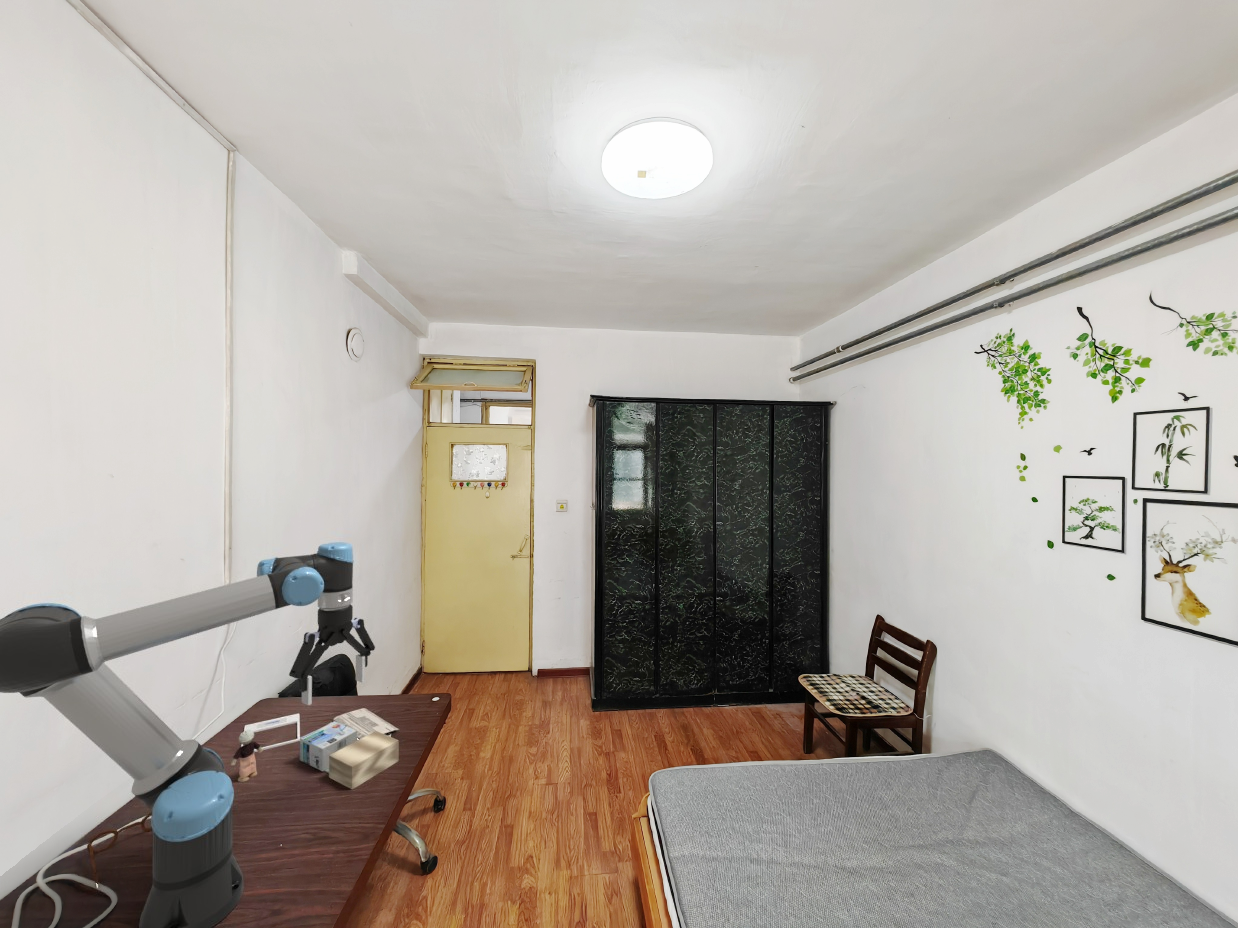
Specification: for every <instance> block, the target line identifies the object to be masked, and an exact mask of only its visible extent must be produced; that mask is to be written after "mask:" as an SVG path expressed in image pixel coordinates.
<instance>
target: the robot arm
mask: <svg viewBox="0 0 1238 928" xmlns="http://www.w3.org/2000/svg"><path fill="white" fill-rule="evenodd" d="M353 569H354V551H353V546H352V545H351V544H350V543H348V542H328V543H322V544H320V545H319V546H318V548H317V551H316V553H313V554H306V555H305V554H303V555H295V556H284V557H278V556H277V557H274V558H268V559H263V560H260V561H259V562H258V564H257V566H256V576H255V577H251V578H248V579H244V580H240V581H235V582H233V583H229V584H226V585H225V584H224V585H220V586H216V587H213V588H210V589H204V590H201V591H199V592H195V593H190V594H186V595H182V596H178V597H175V598H171V599H167V600H164V601H159V602H156V603H153V604H149V605H144V606H140V607H136V608H133V609H129V610H126V611H122V612H118V613H113V614H110V615H106V616H103V617H99V618H92V617H89V616H86V615H83V616H82V615H81V614H80V613H79V612H78V611H77V610H75V609H74V608H72V607H70V606H68V605H65V604H61V603H54V602H49V603H48V602H47V603H45V602H44V603H43V602H41V603H36V604H30V605H27V606H24V607H21V608H19V609H16V610H14V611H12V612H10V613H9V614H7V615H6V616H4V617H2V618H0V693H1V694H2V693H3V694H14V693H19V694H20V695H21V696H22V697H24V698H38V697H39V698H40V697H41V698H44V700H46V701H47V702H48V703H49V704H51V705H52V706H53V707H54V708H55V709H56V710H57V711H59V713H60V714H61V715H62V716H64V717H65V718H66V719H67V720H68V721H69V722H70V723H71V724H73V726H75V727H76V728H77V729H78V730H79V731H80V732H81V733H82V734H84V735H85V737H86V738H88V739H89V740H90V741H91V742H92V743H94V744H95V745H96V746H97V747H98V748H99V749H100V750H101V751H102V752H104V754H106V756H108V757H109V758H110V759H111V760H112V761H113V762H114V763H115V764H116V765H118V766H119V767H120V768H121V769H122V770H123V771H124V772H126V773H127V774H128V776H130V777H131V778H132V779H133V784H132V785H131V786H132V787H131V793H132V794H133V796H135V797H136V798H137V799H138V800H139V801H141V803H142V804H144V805H145V806H146V808H148V809H149V810H150V811H151V812H152V815H151V816H150V817H151V818H150V822H151V824H150V825H151V827H152V830H151V831H152V832H151V833H152V886H151V887H150V888H151V889H150V891H149V894H148V897H147V899H146V901H145V904H144V906H143V909H142V911H141V913H140V914H141V915H140V918H139V923H138V924H139V927H138V928H213V927H215V926H216V925H218V924H219V923H220V922H221V921H223V919H225V918H226V917H227V916H229V914H230V913H231V912H232V911H233V910H234V909H235V908H236V906H237V905H238V904H239V902H240V900H241V898H242V896H243V893H244V874H243V872H242V869H241V868H240V866H239V864H238V862H237V860H236V858H235V856H234V854H233V802H234V798H235V792H234V791H235V789H234V786H233V782H232V780H231V778H230V777H229V775H228V774H226V769H225V765H224V762H223V760H222V758H221V757H220V756H219V754H218V753H216V752H215V751H214V750H213V749H211V748H207V747H204V746H202V745H201V743H200V742H198V740H196V739H194V738H193V739H192V738H191V739H185V740H182V739H181V738H180V737H179V736H178V734H176V733H175V732H174V731H173V730H172V729H171V728H170V727H169V726H168V725H167V724H166V723H165V721H163V720H162V719H161V718H160V717H159V716H158V715H157V714H156V713H155V711H153V710H152V709H151V708H150V707H149V706H148V705H147V704H146V703H145V702H144V701H143V700H142V699H141V698H140V697H139V696H138V695H137V694H136V693H135V692H134V691H133V690H132V689H131V687H129V686H128V685H127V684H126V683H125V682H124V681H123V680H122V679H121V678H120V677H119V676H118V675H117V674H116V673H115V672H114V671H113V670H112V669H111V668H110V667H109V666H108V665H107V663H106V662H108V661H111V660H115V659H119V658H122V657H124V656H129V655H132V654H134V653H138V652H141V651H144V650H148V649H151V648H155V647H157V646H160V645H164V644H167V643H170V642H173V641H177V640H181V639H184V638H186V637H190V636H193V635H197V634H200V633H203V632H207V631H209V630H213V629H217V628H219V627H222V626H226V625H229V624H232V623H237V622H239V621H242V620H246V619H248V618H252V617H255V616H259V615H263V614H264V613H267V612H268V613H269V612H272V611H274V610H278V609H280V608H281V609H282V608H284V607H288V606H291V605H292V606H295V607H306V606H309V605H311V604H313V603H315V602H317V607H318V609H317V626H318V629H317V631H314V632H309V631H306V632H305V633H304V634H303V642H302V645H301V646H300V648H299V651H298V653H297V656H296V658H295V660H294V662H293V665H292V667H291V669H290V671H289V674H288V676H289V677H292V678H294V679H298V683H297V684H298V685H297V686H298V691H299V692H301V704H304V705H306V706H311V705H312V704H313V703H312V702H313V701H312V700H313V696H312V695H313V694H312V693H313V689H312V688H313V676H311V673H312V671H313V669H314V668H315V667H316V665H317V664H318V662H319V660H320V659H321V658H322V656H323V654H324V653H325V652H326V651H327V650H328V649H329V648H330V647H334V646H336V645H338V644H343V643H345V642H346V643H347V644H348V645H350V646H351V647H352V648H353V649H354V650H355V651H356V652H357V653H358V654H357V655H355V681H357V682H359V683H364V682H366V667H368V663H369V662H368V657H370V656H371V655H372V653H371V651H374V650H375V649H376V646H375V644H374V642H373V640H372V638H371V636H370V635H369V632H368V631H367V630H366V627H365V621H364V619H363V618H359V617H354V619H353V616H354V615H353V610H354V609H353V605H352V603H353V597H354V596H353V590H354V589H353V580H354V579H353V577H354V570H353ZM353 629H354V630H355V632H356V634H357V635H358V638H359V639H360V642H359V641H358V640H357V639H356V638H355V636H354V635H353V634H351V631H352V630H353ZM361 643H362V644H361Z"/></svg>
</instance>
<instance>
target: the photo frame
mask: <svg viewBox="0 0 1238 928" xmlns="http://www.w3.org/2000/svg"><path fill="white" fill-rule="evenodd" d="M300 720H301V719H300V713H294V714H290V715H285V716H282V717H278V718H272V719H268V720H263V721H258V722H255V723H250V724H246V725H244V729H243V732H244V731H246V730H251V731H252V732H253V733H254V734H255V733H258V732H262V731H267V730H272V729H275V728H279V727H283V726H288V725H292V724H297V725H296V728H297V729H296V730H297V731H296V732H297V733H296V734H297V735H296V736H297V738H296V739H295V738H294V739H291V740H288V741H283V742H280V743H278V742H277V743H275V744H274V743H273V744H272V745H267V746H263V747H262V746H261V749H263V751H264V750H265V751H266V750H269V749H273V748H277V747H281V746H286V745H288V744H293V743H296V742H300V738H301V726H300V725H301V724H300ZM242 746H243V744H241V745H240V747H242ZM257 752H258V751H257V749H254V753H257ZM258 753H259V752H258Z"/></svg>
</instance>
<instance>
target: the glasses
mask: <svg viewBox="0 0 1238 928" xmlns="http://www.w3.org/2000/svg"><path fill="white" fill-rule="evenodd" d="M151 816H152V811H151V812H149V813H148V814H147V815H146V816H144V817H143V818H142V820H141V821H136V822H132V823H131V824H128V825H126V826H123V827H121V828H120V829H119V830H117V829H113V828H112V829H105V830H104V831H101V832H99V833H97V834H96V835H94V836H93V837H92V838H91V839H90V840H89V841H88V843H87V846H86V850H87V852H88V853H89V855H90V856H89V857H90V861H91V866H92V872H93V878H94V879H93V880H94V884H95V883H97V884H99V880H98V875H97V867H96V863H95V856H94V855H95V854H99V853H100V852H103V851H105V850H107V849H110V848H112V847H113V846H114V844H115V843H117V840H118V838H119V834H121V833H122V832H124V831H127V830H129V829H132V828H134V827H136V826H141V829H142V831H143V832H150V831H152V826H151V827H146V826H145V824H146V823H145V822H146V821H147V820H148V819H149V818H150V817H151ZM107 834H113V835H114V837H113V840H112V841H111V842H110V843H108V845H106V846H104V847H102V848H99V849H93V845H92V844H93V842H94V841H95V840H97V839H98V838H100V837H102V836H105V835H107Z"/></svg>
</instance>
